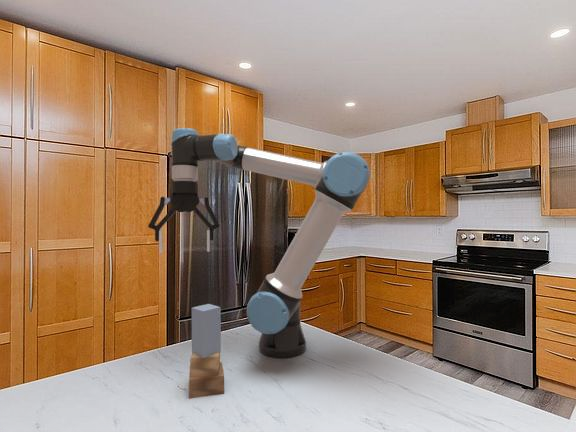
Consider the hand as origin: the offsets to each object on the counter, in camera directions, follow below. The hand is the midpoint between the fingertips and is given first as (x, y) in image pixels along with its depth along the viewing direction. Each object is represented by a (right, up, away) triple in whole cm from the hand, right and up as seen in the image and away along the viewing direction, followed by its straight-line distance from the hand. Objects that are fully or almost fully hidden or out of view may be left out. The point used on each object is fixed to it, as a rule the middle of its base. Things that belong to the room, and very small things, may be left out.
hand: (185, 252), depth 101 cm
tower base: (+11, -32, -18) cm, 38 cm away
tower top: (+11, -27, -18) cm, 34 cm away
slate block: (+11, -23, -18) cm, 31 cm away
